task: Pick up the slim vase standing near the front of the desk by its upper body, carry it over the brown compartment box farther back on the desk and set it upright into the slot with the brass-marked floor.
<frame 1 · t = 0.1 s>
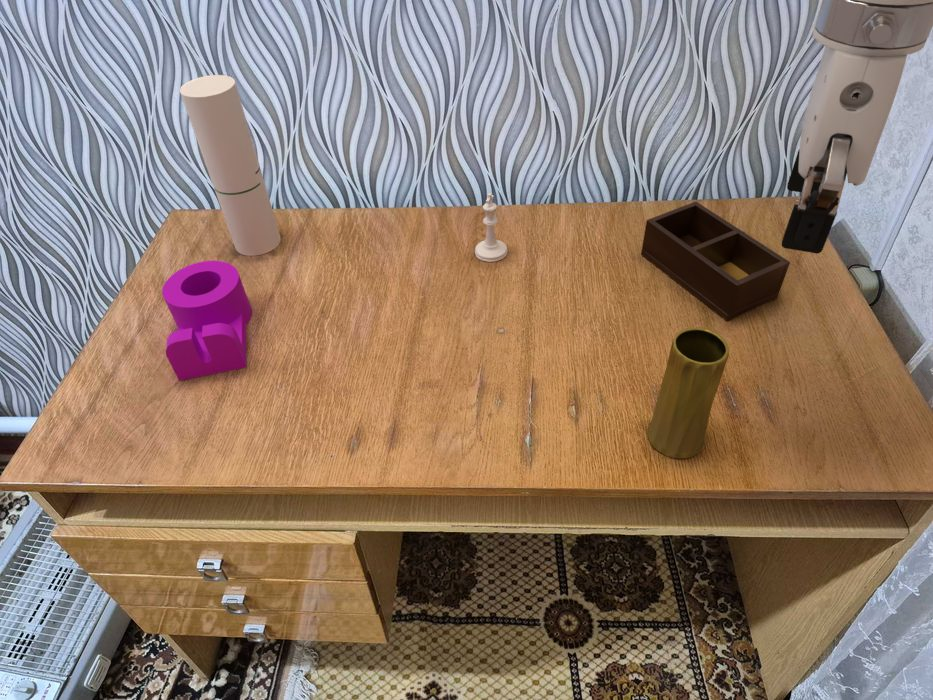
hand: (802, 218, 60), 25 cm above the table, tool pointing down, fingers open, 9 cm apart
chess piece: (491, 253, 100), on the table
brown compartment box: (706, 275, 93), on the table
magenta bearing bracket: (215, 333, 90), on the table
vase: (674, 438, 74), on the table
cylindrical container: (258, 243, 105), on the table
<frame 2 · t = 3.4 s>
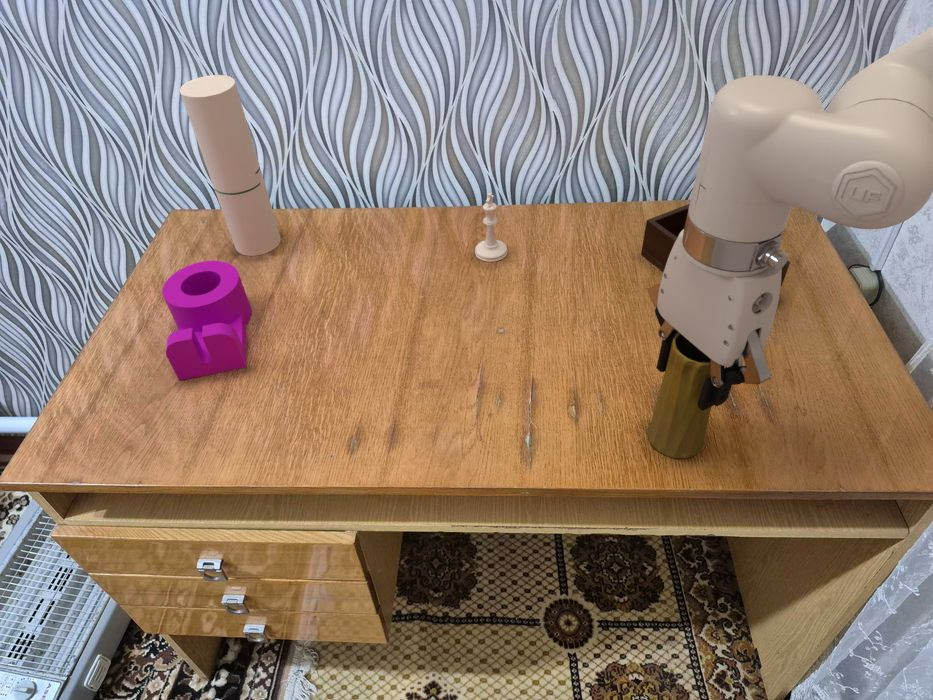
hand: (690, 383, 67), 9 cm above the table, tool pointing down, fingers closed on vase, 5 cm apart
vase: (674, 438, 74), on the table, touching gripper
everything else where it was.
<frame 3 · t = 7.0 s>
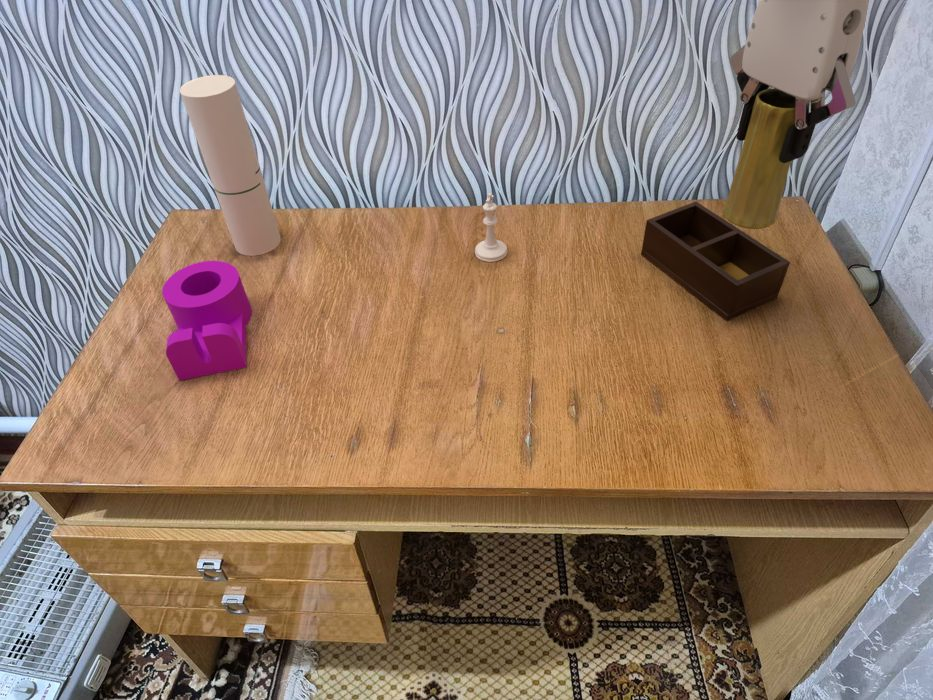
hand: (769, 146, 73), 23 cm above the table, tool pointing down, fingers closed on vase, 5 cm apart
vase: (748, 216, 79), point 14 cm above the table, touching gripper
everything else where it was.
when the fingers open (10 cm above the table, at t = 10.6 s): vase stays where it is, resting on brown compartment box.
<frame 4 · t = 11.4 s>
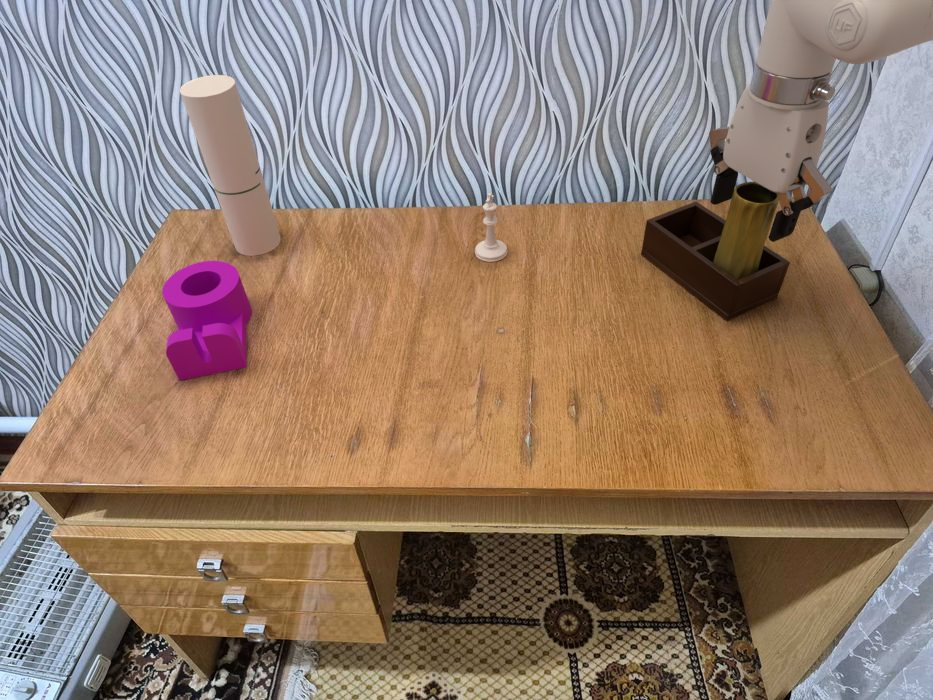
hand: (749, 218, 83), 12 cm above the table, tool pointing down, fingers open, 9 cm apart
vase: (729, 285, 90), point 1 cm above the table, touching brown compartment box
everything else where it was.
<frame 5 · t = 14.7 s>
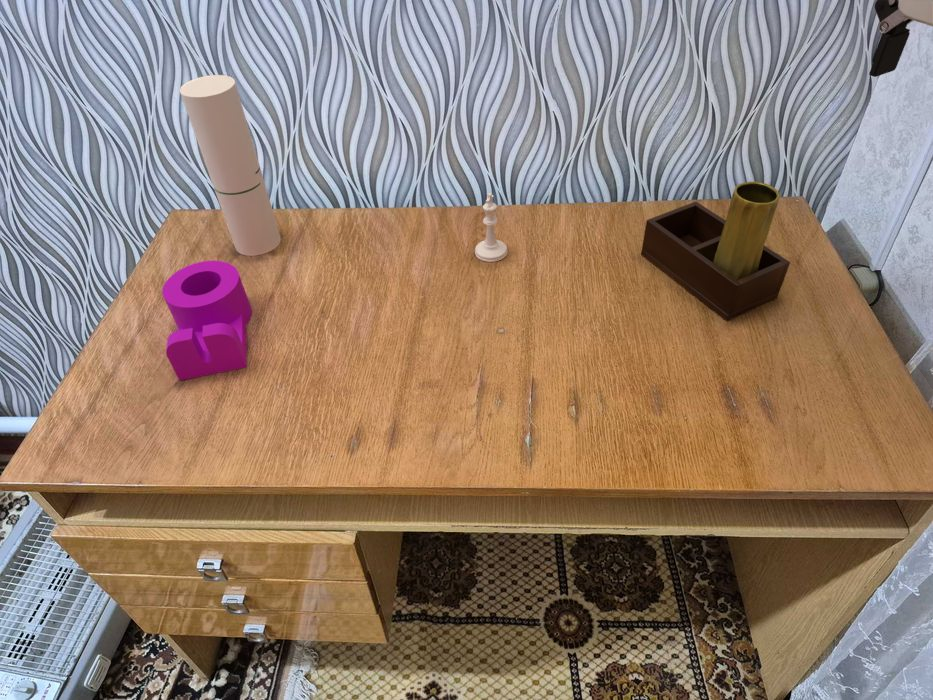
hand: (925, 89, 65), 30 cm above the table, tool pointing down, fingers open, 9 cm apart
nothing on the table moved.
at the end: vase 0.1 cm from the target spot in the brown compartment box, point 1.0 cm above the brown compartment box's base; vase tilted 0°; the gripper is holding nothing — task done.
